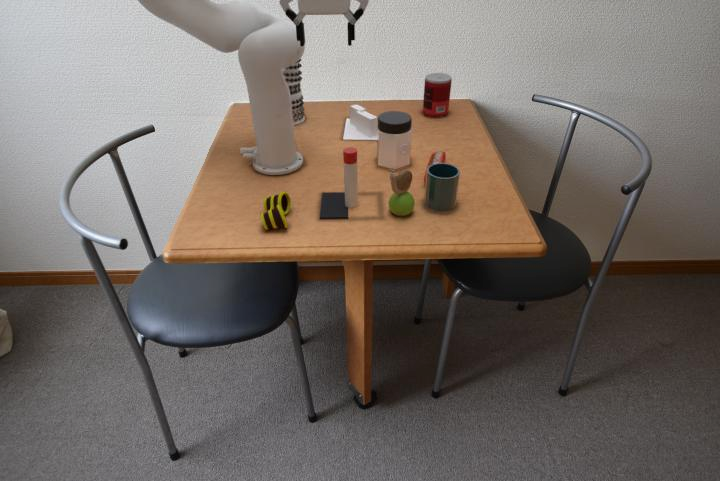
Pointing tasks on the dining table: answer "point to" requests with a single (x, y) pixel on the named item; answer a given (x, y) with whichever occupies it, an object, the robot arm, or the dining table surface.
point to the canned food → (436, 94)
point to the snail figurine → (401, 193)
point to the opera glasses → (276, 210)
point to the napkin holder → (360, 125)
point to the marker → (350, 177)
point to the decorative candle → (295, 91)
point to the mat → (333, 206)
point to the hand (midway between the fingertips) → (326, 44)
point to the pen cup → (441, 186)
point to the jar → (394, 139)
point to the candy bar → (436, 159)
